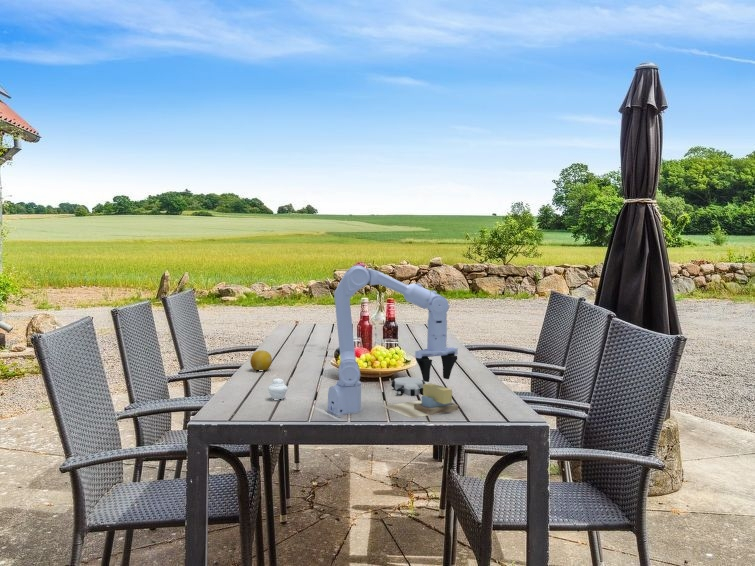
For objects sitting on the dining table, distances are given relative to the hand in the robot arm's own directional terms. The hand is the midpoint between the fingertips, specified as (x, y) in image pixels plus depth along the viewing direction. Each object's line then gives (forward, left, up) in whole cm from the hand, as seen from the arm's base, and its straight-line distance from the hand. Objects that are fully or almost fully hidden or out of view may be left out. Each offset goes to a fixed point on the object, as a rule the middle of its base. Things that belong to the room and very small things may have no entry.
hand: (436, 380), depth 188 cm
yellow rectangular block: (0, -1, -6) cm, 6 cm away
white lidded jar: (-34, +39, -10) cm, 53 cm away
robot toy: (+8, +24, -10) cm, 27 cm away
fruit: (-20, +87, -10) cm, 90 cm away
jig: (-3, +4, -10) cm, 11 cm away
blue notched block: (0, 0, -9) cm, 9 cm away
